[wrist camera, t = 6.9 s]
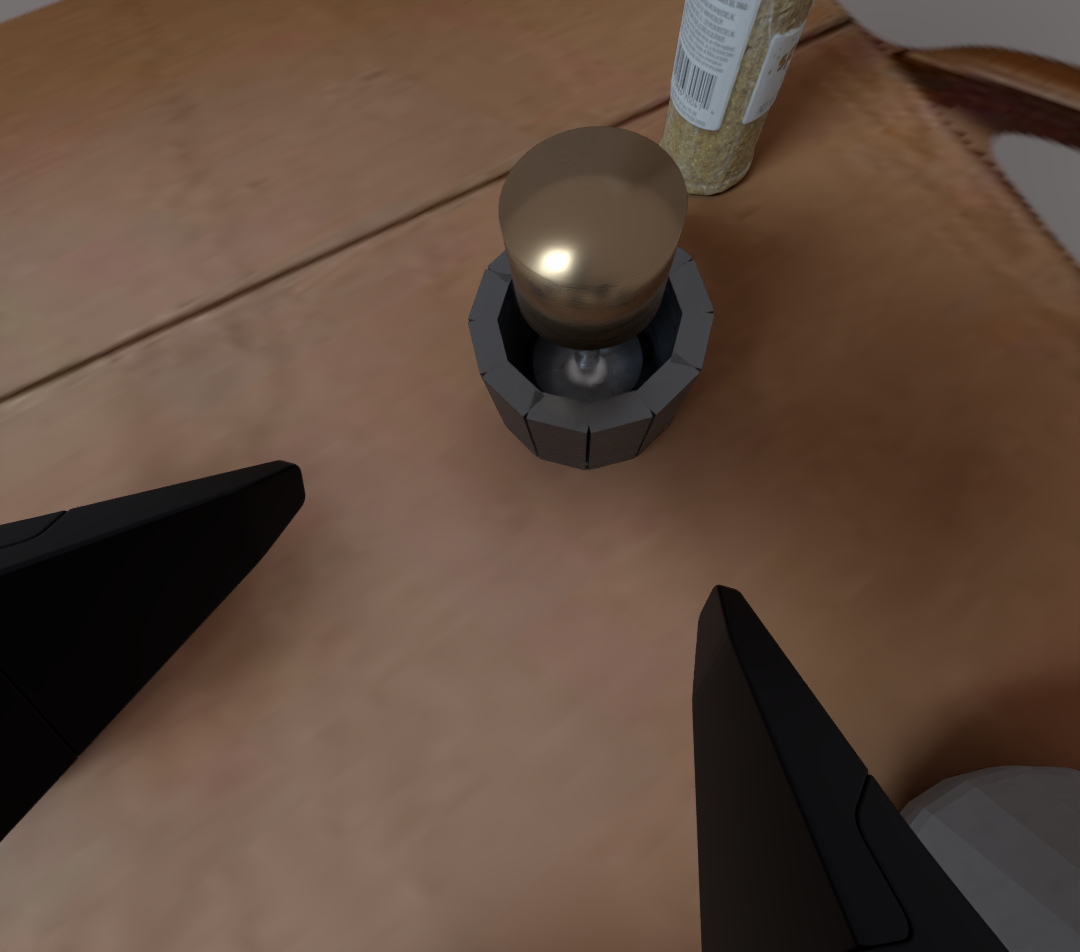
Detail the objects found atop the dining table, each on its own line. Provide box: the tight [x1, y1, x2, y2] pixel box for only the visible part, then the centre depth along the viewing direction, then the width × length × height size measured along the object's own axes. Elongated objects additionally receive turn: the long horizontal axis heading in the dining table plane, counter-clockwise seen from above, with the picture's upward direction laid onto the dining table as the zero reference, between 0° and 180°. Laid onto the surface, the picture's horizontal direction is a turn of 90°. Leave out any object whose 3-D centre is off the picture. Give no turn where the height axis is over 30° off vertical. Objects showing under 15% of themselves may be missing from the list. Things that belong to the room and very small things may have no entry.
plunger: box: [499, 126, 688, 403], centre depth 15 cm, size 4×4×8 cm
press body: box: [468, 246, 714, 470], centre depth 18 cm, size 10×8×5 cm
